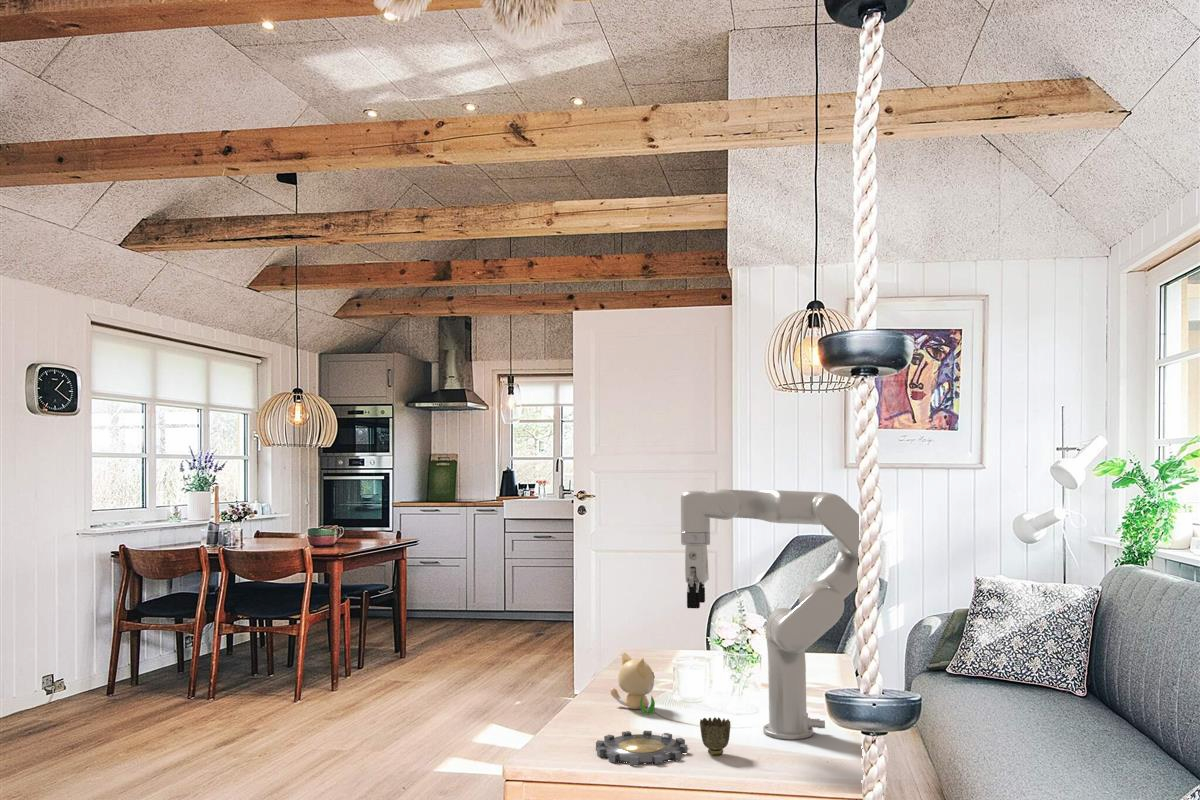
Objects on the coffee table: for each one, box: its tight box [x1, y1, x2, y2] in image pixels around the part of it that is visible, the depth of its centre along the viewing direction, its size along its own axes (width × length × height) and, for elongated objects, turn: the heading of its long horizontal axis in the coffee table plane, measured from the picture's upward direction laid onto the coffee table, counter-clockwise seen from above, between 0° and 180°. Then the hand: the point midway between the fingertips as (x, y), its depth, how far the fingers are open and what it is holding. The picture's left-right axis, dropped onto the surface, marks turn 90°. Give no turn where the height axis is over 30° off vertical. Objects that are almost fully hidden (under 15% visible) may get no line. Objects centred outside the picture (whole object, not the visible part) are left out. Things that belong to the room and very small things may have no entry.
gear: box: [595, 730, 688, 766], centre depth 238 cm, size 22×22×2 cm
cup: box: [699, 716, 731, 757], centre depth 235 cm, size 8×7×8 cm
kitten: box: [609, 652, 656, 715], centre depth 278 cm, size 15×10×15 cm, turn 32°
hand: (696, 605), depth 253 cm, fingers open, 9 cm apart
